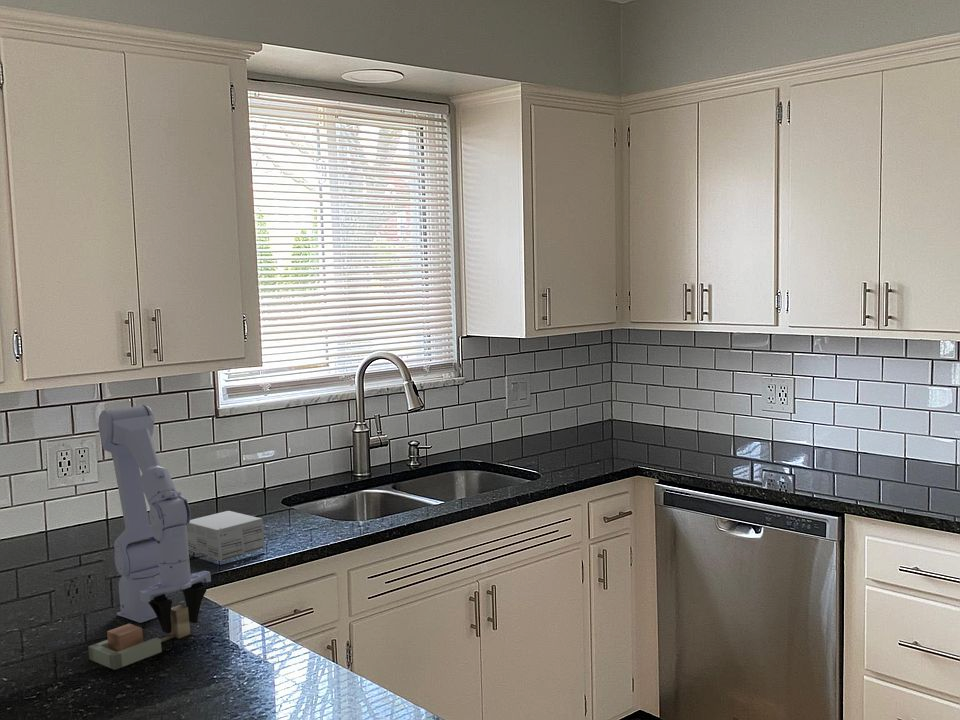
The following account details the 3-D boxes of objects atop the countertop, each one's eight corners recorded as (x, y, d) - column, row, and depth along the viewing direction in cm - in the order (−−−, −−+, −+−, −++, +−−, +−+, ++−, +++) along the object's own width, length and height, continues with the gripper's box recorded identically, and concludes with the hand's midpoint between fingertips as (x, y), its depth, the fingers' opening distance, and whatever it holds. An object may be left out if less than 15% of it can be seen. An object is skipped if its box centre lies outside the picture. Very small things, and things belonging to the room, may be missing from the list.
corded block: (109, 657, 175) (106, 628, 175) (180, 630, 187) (177, 603, 186) (122, 662, 172) (119, 633, 172) (193, 635, 184) (190, 607, 184)
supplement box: (266, 553, 239) (263, 517, 238) (220, 567, 229) (217, 529, 229) (232, 543, 251) (229, 509, 250) (187, 555, 241) (183, 520, 240)
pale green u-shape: (89, 659, 175) (88, 646, 174) (136, 642, 182) (134, 629, 182) (114, 669, 169) (113, 656, 169) (161, 651, 176) (160, 638, 176)
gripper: (151, 573, 175) (158, 643, 176) (217, 552, 186) (223, 618, 187) (131, 567, 180) (138, 636, 181) (196, 547, 191) (202, 612, 192)
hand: (180, 626), depth 184 cm, fingers open, 5 cm apart
